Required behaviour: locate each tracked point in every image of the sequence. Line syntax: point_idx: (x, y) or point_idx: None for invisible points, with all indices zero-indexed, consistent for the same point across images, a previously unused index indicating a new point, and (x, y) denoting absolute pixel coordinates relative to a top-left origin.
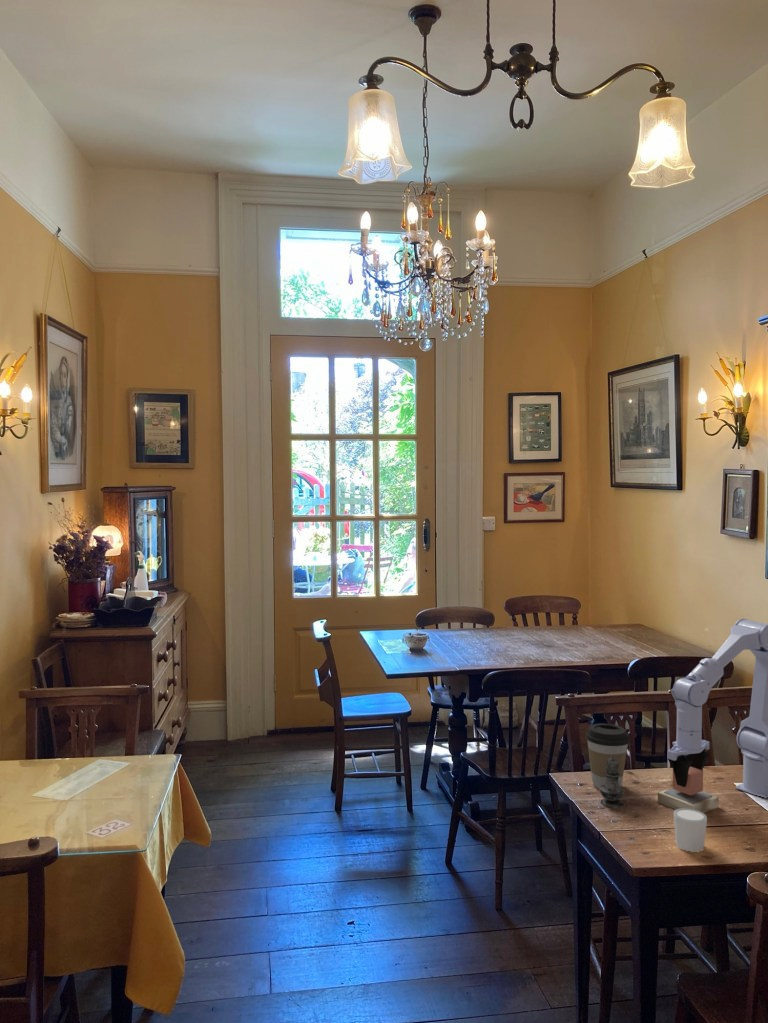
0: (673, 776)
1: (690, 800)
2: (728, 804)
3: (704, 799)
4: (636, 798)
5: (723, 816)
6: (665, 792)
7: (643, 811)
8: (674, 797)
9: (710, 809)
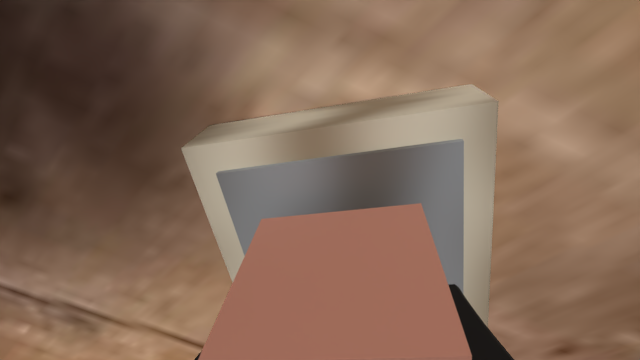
0: (232, 297)
1: None
2: (548, 295)
3: None
4: (108, 15)
5: None
6: (221, 184)
7: (68, 176)
8: (236, 246)
9: None
